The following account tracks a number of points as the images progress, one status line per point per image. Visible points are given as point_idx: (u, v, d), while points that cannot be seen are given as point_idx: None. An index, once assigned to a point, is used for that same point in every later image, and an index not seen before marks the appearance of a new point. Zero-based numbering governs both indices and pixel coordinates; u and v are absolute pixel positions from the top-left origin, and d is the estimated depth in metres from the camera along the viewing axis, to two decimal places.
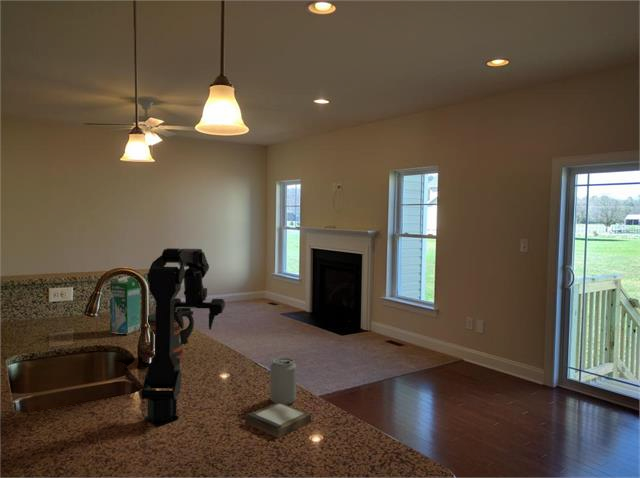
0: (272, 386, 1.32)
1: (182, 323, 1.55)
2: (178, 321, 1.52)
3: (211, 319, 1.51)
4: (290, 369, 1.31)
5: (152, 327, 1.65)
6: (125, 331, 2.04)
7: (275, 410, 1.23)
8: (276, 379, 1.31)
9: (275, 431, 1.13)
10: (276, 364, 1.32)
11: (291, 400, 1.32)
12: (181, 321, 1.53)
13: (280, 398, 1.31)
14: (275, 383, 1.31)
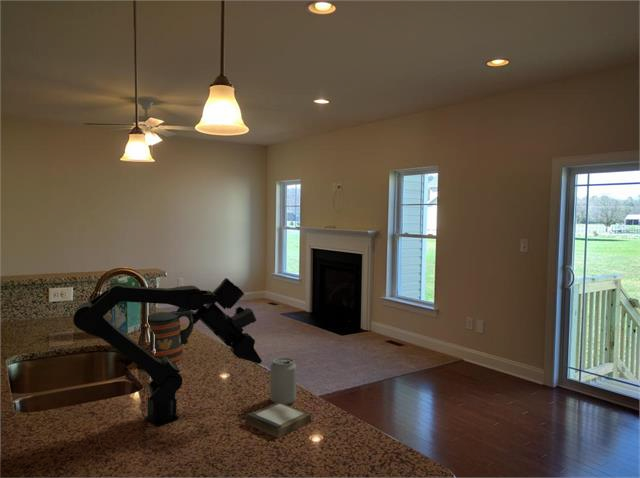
0: (272, 386, 1.32)
1: None
2: None
3: None
4: (290, 369, 1.31)
5: (152, 327, 1.65)
6: (125, 331, 2.04)
7: (275, 410, 1.23)
8: (276, 379, 1.31)
9: (275, 431, 1.13)
10: (276, 364, 1.32)
11: (291, 400, 1.32)
12: None
13: (280, 398, 1.31)
14: (275, 383, 1.31)
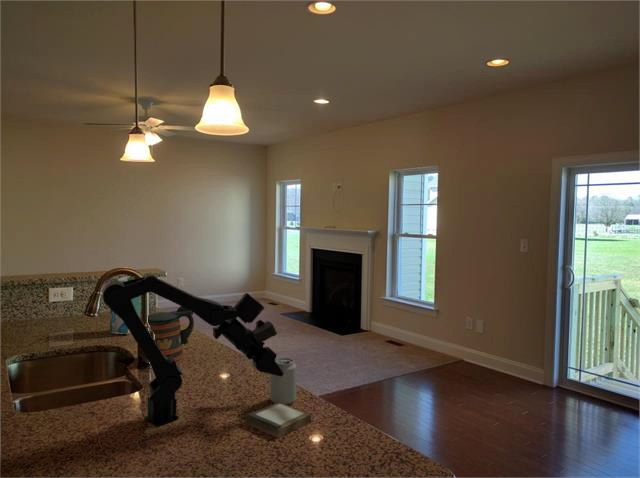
0: (272, 386, 1.32)
1: None
2: None
3: None
4: (290, 369, 1.31)
5: (152, 327, 1.65)
6: (125, 331, 2.04)
7: (275, 410, 1.23)
8: (276, 379, 1.31)
9: (275, 431, 1.13)
10: None
11: (291, 400, 1.32)
12: None
13: (280, 398, 1.31)
14: (275, 383, 1.31)
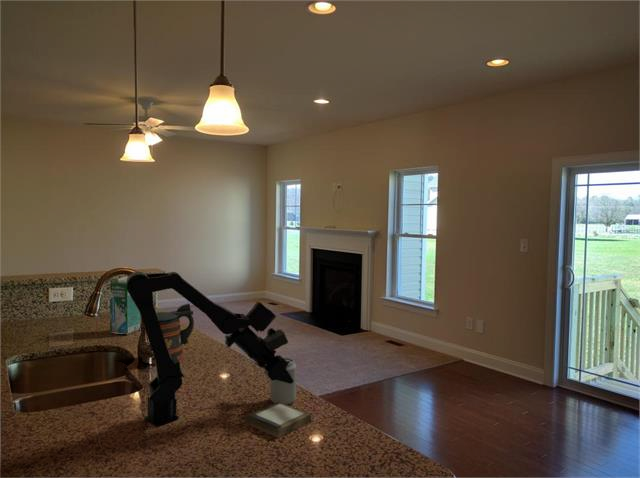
0: (272, 386, 1.32)
1: None
2: None
3: None
4: (290, 369, 1.31)
5: None
6: (125, 331, 2.04)
7: (275, 410, 1.23)
8: None
9: (275, 431, 1.13)
10: None
11: (291, 400, 1.32)
12: None
13: (280, 398, 1.31)
14: (275, 383, 1.31)
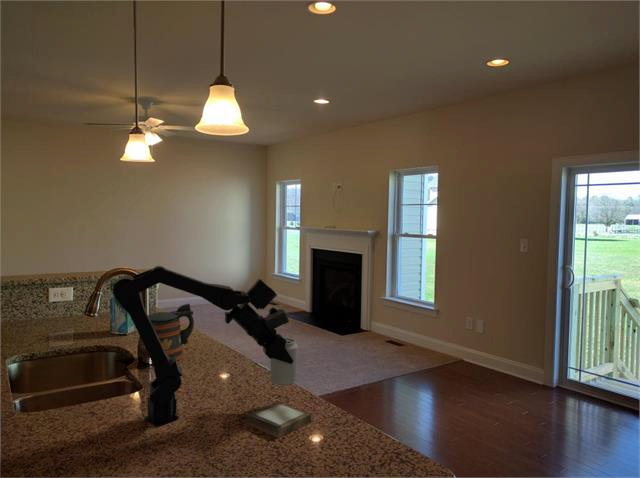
0: (272, 366, 1.29)
1: None
2: None
3: (275, 358, 1.25)
4: (290, 349, 1.28)
5: None
6: (125, 331, 2.04)
7: (275, 410, 1.23)
8: (276, 359, 1.28)
9: (275, 431, 1.13)
10: None
11: (291, 381, 1.29)
12: None
13: (280, 378, 1.28)
14: (274, 363, 1.29)
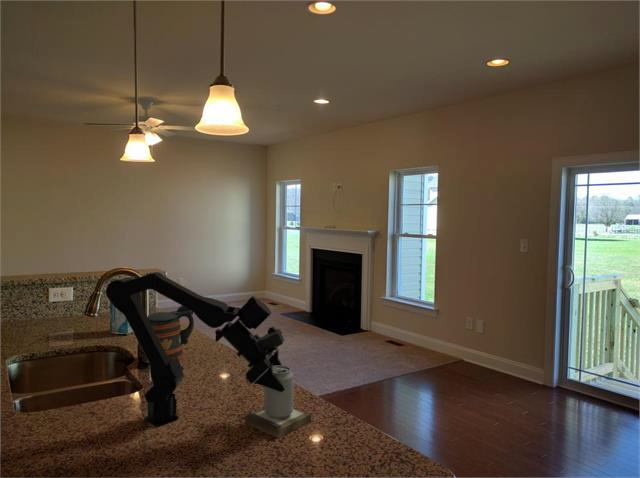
0: None
1: None
2: None
3: None
4: (280, 379, 1.17)
5: None
6: (125, 331, 2.04)
7: None
8: (267, 389, 1.18)
9: (275, 431, 1.13)
10: None
11: (282, 414, 1.17)
12: None
13: (270, 410, 1.18)
14: (266, 392, 1.19)
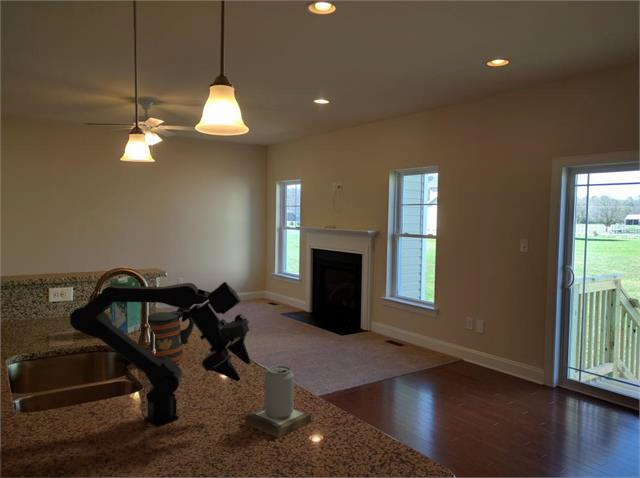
0: (265, 395, 1.20)
1: (245, 358, 1.27)
2: None
3: None
4: (281, 379, 1.17)
5: (152, 327, 1.65)
6: (125, 331, 2.04)
7: None
8: (267, 389, 1.18)
9: (275, 431, 1.13)
10: (268, 372, 1.19)
11: (282, 414, 1.17)
12: (240, 355, 1.27)
13: (270, 410, 1.18)
14: (266, 392, 1.19)
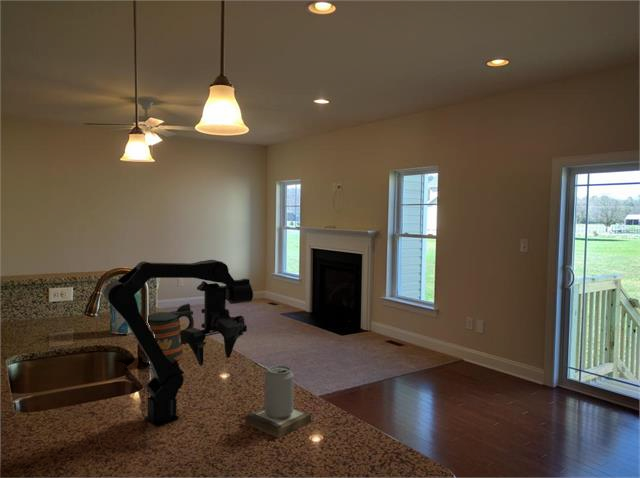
0: (265, 395, 1.20)
1: (227, 351, 1.32)
2: None
3: None
4: (281, 379, 1.17)
5: (152, 327, 1.65)
6: (125, 331, 2.04)
7: None
8: (267, 389, 1.18)
9: (275, 431, 1.13)
10: (268, 372, 1.19)
11: (282, 414, 1.17)
12: (226, 346, 1.33)
13: (270, 410, 1.18)
14: (266, 392, 1.19)
